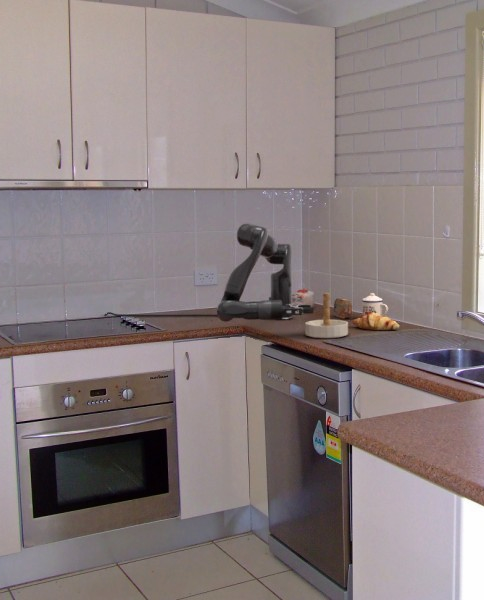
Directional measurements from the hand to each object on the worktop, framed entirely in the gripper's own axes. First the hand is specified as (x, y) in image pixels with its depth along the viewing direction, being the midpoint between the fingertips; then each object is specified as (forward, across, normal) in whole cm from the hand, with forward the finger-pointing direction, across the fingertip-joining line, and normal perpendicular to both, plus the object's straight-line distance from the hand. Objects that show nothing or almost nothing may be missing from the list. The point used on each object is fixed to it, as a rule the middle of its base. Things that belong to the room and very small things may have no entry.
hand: (311, 309), depth 325 cm
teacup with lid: (+32, +36, +11) cm, 50 cm away
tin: (+19, +46, +11) cm, 51 cm away
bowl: (+6, 0, +11) cm, 12 cm away
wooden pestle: (+6, 0, +10) cm, 12 cm away
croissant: (+27, +12, +11) cm, 32 cm away
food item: (+4, +76, +11) cm, 77 cm away
